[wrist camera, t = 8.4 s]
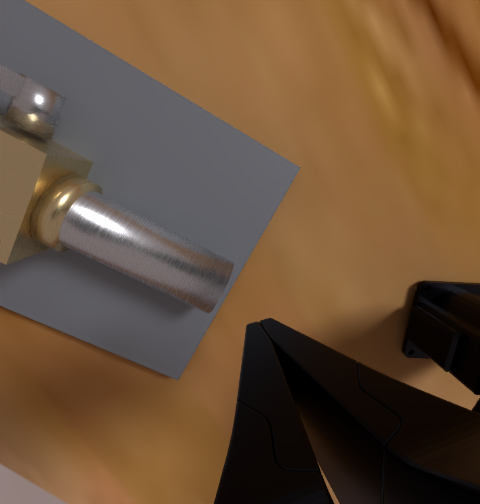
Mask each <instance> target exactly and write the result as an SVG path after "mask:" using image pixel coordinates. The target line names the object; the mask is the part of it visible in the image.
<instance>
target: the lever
mask: <svg viewBox="0 0 480 504" xmlns="http://www.w3.org/2000/svg"><path fill="white" fill-rule="evenodd" d="M0 90H2V91H4V92H6V93H8V94H10V95H11V99H10V102H9V105H8V108H7V111H6V114H5V117H4V119H6V120H7V121H8V122H10V123H12V124H14V125H16V126H18V127H20V128H22V129H24V130H26V131H28V132H31V133H33V134H35V135H38V136H40V137H43V138H46V139H52V136H53V134H54V131H55V128H56V126H57V123H58V120H59V117H60V115H61V112H62V109H63V107H64V104H65V101H66V98H65V97H63V96H62V95H60V94H58V93H56V92H55V91H53V90H51V89H49V88H47V87H46V86H44V85H42V84H40V83H38V82H37V81H35V80H33V79H31V78H29V77H27V76H26V75H24V74H22V73H20V72H19V74H18V73H16V72H14V71H13V70H11V69H9V68H7V67H5V66H4V65H2V64H0Z"/></svg>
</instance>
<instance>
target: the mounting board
mask: <svg viewBox="0 0 480 504" xmlns="http://www.w3.org/2000/svg"><path fill="white" fill-rule="evenodd" d="M0 64H2V65H4V66H5V67H7V68H9V69H11V70H13V71H14V72H16V73H18V74H19V72H20V73H22V74H24V75H26V76H27V77H29V78H31V79H33V80H35V81H37V82H38V83H40V84H42V85H44V86H46V87H47V88H49V89H51V90H53V91H55V92H56V93H58V94H60V95H62V96H63V97H65V98H66V101H65V104H64V107H63V109H62V112H61V115H60V117H59V120H58V123H57V126H56V128H55V131H54V134H53V136H52V139H51V140H53V141H55V142H57V143H59V144H61V145H62V146H64V147H66V148H68V149H70V150H72V151H74V152H76V153H78V154H79V155H81V156H83V157H85V158H87V159H89V160H91V161H93V164H92V167H91V169H90V172H89V174H88V177H87V179H88V180H90V181H92V182H94V183H95V184H97V185H99V186H100V187H101V188H102V191H103V195H104V196H106V197H108V198H110V199H112V200H114V201H116V202H117V203H119V204H121V205H123V206H125V207H127V208H129V209H131V210H133V211H135V212H137V213H139V214H141V215H143V216H145V217H147V218H149V219H151V220H152V221H154V222H156V223H158V224H160V225H162V226H164V227H166V228H168V229H170V230H172V231H174V232H176V233H178V234H180V235H182V236H184V237H185V238H187V239H189V240H191V241H193V242H195V243H197V244H199V245H201V246H203V247H205V248H207V249H209V250H211V251H213V252H215V253H217V254H219V255H220V256H222V257H224V258H226V259H228V260H230V261H232V262H234V267H233V271H232V274H231V277H230V279H229V281H228V284H227V286H226V288H225V290H224V292H223V294H222V296H221V298H220V299H219V301H218V303H217V304H216V306H215V307H214V309H213V310H212V311H211V312H210V313H209V314H208V313H206V312H204V311H202V310H199V309H197V308H195V307H193V306H191V305H189V304H187V303H185V302H182V301H180V300H178V299H176V298H174V297H172V296H170V295H168V294H165V293H163V292H161V291H159V290H157V289H155V288H153V287H151V286H149V285H146V284H144V283H142V282H140V281H138V280H136V279H134V278H132V277H129V276H127V275H125V274H123V273H121V272H119V271H117V270H115V269H112V268H110V267H108V266H106V265H104V264H102V263H100V262H98V261H96V260H93V259H91V258H89V257H87V256H85V255H83V254H81V253H79V252H76V251H74V250H72V249H69V250H67V251H64V252H59V251H57V250H55V249H53V248H51V249H48V250H45V251H43V252H40V253H37V254H34V255H32V256H29V257H26V258H23V259H21V260H18V261H15V262H12V263H10V264H7V265H6V264H3V263H1V262H0V306H2V307H4V308H6V309H9V310H11V311H14V312H16V313H18V314H21V315H23V316H26V317H28V318H30V319H33V320H35V321H38V322H40V323H42V324H45V325H47V326H49V327H52V328H54V329H57V330H59V331H61V332H64V333H66V334H69V335H71V336H73V337H76V338H78V339H80V340H83V341H85V342H88V343H90V344H92V345H95V346H97V347H100V348H102V349H104V350H107V351H109V352H112V353H114V354H116V355H119V356H121V357H123V358H126V359H128V360H131V361H133V362H135V363H138V364H140V365H143V366H145V367H147V368H150V369H152V370H155V371H157V372H159V373H162V374H164V375H166V376H169V377H171V378H174V379H176V380H179V378H180V376H181V374H182V373H183V371H184V369H185V367H186V366H187V364H188V362H189V361H190V359H191V357H192V355H193V354H194V352H195V350H196V348H197V347H198V345H199V343H200V341H201V340H202V338H203V336H204V334H205V333H206V331H207V329H208V328H209V326H210V324H211V322H212V321H213V319H214V317H215V315H216V314H217V312H218V310H219V308H220V307H221V305H222V303H223V301H224V300H225V298H226V296H227V294H228V293H229V291H230V289H231V288H232V286H233V284H234V282H235V281H236V279H237V277H238V275H239V274H240V272H241V270H242V268H243V267H244V265H245V263H246V261H247V260H248V258H249V256H250V255H251V253H252V251H253V249H254V248H255V246H256V244H257V242H258V241H259V239H260V237H261V235H262V234H263V232H264V230H265V228H266V227H267V225H268V223H269V222H270V220H271V218H272V216H273V215H274V213H275V211H276V209H277V208H278V206H279V204H280V202H281V201H282V199H283V197H284V195H285V194H286V192H287V190H288V189H289V187H290V185H291V183H292V182H293V180H294V178H295V176H296V175H297V173H298V171H299V169H300V167H298V166H297V165H295V164H293V163H292V162H290V161H289V160H287V159H285V158H284V157H282V156H280V155H279V154H277V153H275V152H274V151H272V150H270V149H269V148H267V147H265V146H264V145H262V144H260V143H259V142H257V141H256V140H254V139H252V138H251V137H249V136H247V135H246V134H244V133H242V132H241V131H239V130H237V129H236V128H234V127H232V126H231V125H229V124H227V123H226V122H224V121H223V120H221V119H219V118H218V117H216V116H214V115H213V114H211V113H209V112H208V111H206V110H204V109H203V108H201V107H199V106H198V105H196V104H195V103H193V102H191V101H190V100H188V99H186V98H185V97H183V96H181V95H180V94H178V93H176V92H175V91H173V90H171V89H170V88H168V87H166V86H165V85H163V84H162V83H160V82H158V81H157V80H155V79H153V78H152V77H150V76H148V75H147V74H145V73H143V72H142V71H140V70H138V69H137V68H135V67H133V66H132V65H130V64H129V63H127V62H125V61H124V60H122V59H120V58H119V57H117V56H115V55H114V54H112V53H110V52H109V51H107V50H105V49H104V48H102V47H100V46H99V45H97V44H96V43H94V42H92V41H91V40H89V39H87V38H86V37H84V36H82V35H81V34H79V33H77V32H76V31H74V30H72V29H71V28H69V27H68V26H66V25H64V24H63V23H61V22H59V21H58V20H56V19H54V18H53V17H51V16H49V15H48V14H46V13H44V12H43V11H41V10H39V9H38V8H36V7H35V6H33V5H31V4H30V3H28V2H26V1H25V0H0ZM10 99H11V95H10V94H8V93H6V92H4V91H2V90H0V115H2V116H5V114H6V111H7V108H8V105H9V102H10Z"/></svg>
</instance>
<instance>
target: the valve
mask: <svg viewBox="0 0 480 504" xmlns="http://www.w3.org/2000/svg"><path fill="white" fill-rule="evenodd" d="M4 117H5V116H2V115H0V262H1V263H3V264H6V265H7V264H10V263H12V262H15V261H18V260H21V259H23V258H26V257H29V256H32V255H34V254H37V253H40V252H43V251H45V250H48V249H51V248H53V249H55V250H57V251H59V252H64V251H67V250H69V249H72V250H74V251H76V252H79V253H81V254H83V255H85V256H87V257H89V258H91V259H93V260H96V261H98V262H100V263H102V264H104V265H106V266H108V267H110V268H112V269H115V270H117V271H119V272H121V273H123V274H125V275H127V276H129V277H132V278H134V279H136V280H138V281H140V282H142V283H144V284H146V285H149V286H151V287H153V288H155V289H157V290H159V291H161V292H163V293H165V294H168V295H170V296H172V297H174V298H176V299H178V300H180V301H182V302H185V303H187V304H189V305H191V306H193V307H195V308H197V309H199V310H202V311H204V312H206V313H208V314H209V313H210V312H211V311H212V310H213V309H214V307H215V306H216V304H217V303H218V301H219V299H220V298H221V296H222V294H223V292H224V290H225V288H226V286H227V284H228V281H229V279H230V277H231V274H232V271H233V267H234V262H232V261H230V260H228V259H226V258H224V257H222V256H220V255H219V254H217V253H215V252H213V251H211V250H209V249H207V248H205V247H203V246H201V245H199V244H197V243H195V242H193V241H191V240H189V239H187V238H185V237H184V236H182V235H180V234H178V233H176V232H174V231H172V230H170V229H168V228H166V227H164V226H162V225H160V224H158V223H156V222H154V221H152V220H151V219H149V218H147V217H145V216H143V215H141V214H139V213H137V212H135V211H133V210H131V209H129V208H127V207H125V206H123V205H121V204H119V203H117V202H116V201H114V200H112V199H110V198H108V197H106V196H104V195H103V191H102V188H101V187H100V186H99V185H97V184H95V183H94V182H92V181H90V180H88V179H87V177H88V174H89V172H90V169H91V167H92V164H93V161H91V160H89V159H87V158H85V157H83V156H81V155H79V154H78V153H76V152H74V151H72V150H70V149H68V148H66V147H64V146H62V145H61V144H59V143H57V142H55V141H53V140H51V139H46V138H43V137H40V136H38V135H35V134H33V133H31V132H28V131H26V130H24V129H22V128H20V127H18V126H16V125H14V124H12V123H10V122H8V121H7V120H6V119H4Z"/></svg>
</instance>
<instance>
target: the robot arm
mask: <svg viewBox="0 0 480 504" xmlns="http://www.w3.org/2000/svg"><path fill="white" fill-rule="evenodd" d="M426 286H427V287H426ZM425 287H426V289H425V290H424V288H425ZM409 350H410V351H409ZM408 351H409V352H408ZM402 353H403V354H404V355H405V356H406V357H408V358H430V359H432V360H433V361H434V362H435V363H436V364H437V365H439V366H440V367H441V368H442V369H443V370H444V371H446V372H449V373H451V374H452V375H453V376H454V377H455V378H456V379H458V380H459V381H460V382H461V383H462V384H464V385H465V386H466V387H467V388H468V389H469V390H471V391H472V392H473V393H474V394H476V395H480V283H463V282H443V281H422V282H420V283H419V284H418V286H417V290H416V294H415V298H414V302H413V306H412V310H411V315H410V319H409V323H408V327H407V331H406V335H405V339H404V343H403V347H402ZM316 459H317V460H316ZM317 461H318V463H319V465H320V467H321V469H322V471H323V473H324V475H325V477H326V478H327V480H328V482H329V484H330V486H331V488H332V490H333V492H334V494H335V495H336V497H337V499H338V501H339V503H340V504H480V398H479V400H478V401H477V403H476V404H475V406H474V407H473V409H472V410H468V409H466V408H464V407H461V406H459V405H456V404H454V403H451V402H449V401H446V400H444V399H441V398H439V397H436V396H434V395H432V394H429V393H427V392H424V391H422V390H419V389H417V388H414V387H412V386H410V385H407V384H405V383H403V382H400V381H398V380H396V379H393V378H391V377H389V376H387V375H384V374H382V373H380V372H378V371H376V370H374V369H372V368H370V367H368V366H366V365H364V364H362V363H360V362H358V363H357V361H356V360H354V359H352V358H350V357H348V356H346V355H344V354H342V353H340V352H338V351H336V350H334V349H332V348H330V347H328V346H326V345H324V344H322V343H320V342H318V341H316V340H314V339H312V338H310V337H308V336H306V335H304V334H302V333H300V332H298V331H296V330H294V329H292V328H290V327H288V326H286V325H284V324H282V323H280V322H278V321H276V320H274V319H272V318H268V319H264V320H261V321H260V322H254V323H250V324H247V326H246V334H245V341H244V349H243V357H242V365H241V373H240V381H239V389H238V397H237V404H236V411H235V418H234V424H233V430H232V436H231V440H230V444H229V448H228V453H227V457H226V460H225V464H224V468H223V472H222V475H221V479H220V483H219V486H218V490H217V494H216V497H215V501H214V504H334V502H333V500H332V498H331V496H330V493H329V491H328V489H327V486H326V484H325V481H324V479H323V476H322V474H321V471H320V468H319V465H318V463H317Z"/></svg>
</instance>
